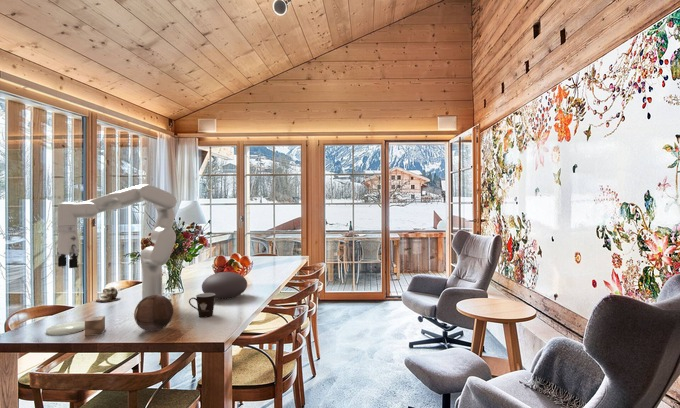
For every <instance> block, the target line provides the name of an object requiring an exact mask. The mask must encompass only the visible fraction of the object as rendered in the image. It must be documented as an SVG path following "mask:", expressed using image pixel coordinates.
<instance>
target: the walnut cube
mask: <svg viewBox="0 0 680 408" xmlns="http://www.w3.org/2000/svg"><path fill="white" fill-rule="evenodd" d="M84 322H85V330H84V336H85V335H87V336H93V335H92V334H97V335H102V334H103V333H104V332H105V330H106V316H105V315H101V316H99V315H98V316H89V317H87V319H85V320H84ZM103 331H104V332H103ZM102 332H103V333H102Z"/></svg>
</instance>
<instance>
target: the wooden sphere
mask: <svg viewBox="0 0 680 408" xmlns="http://www.w3.org/2000/svg"><path fill="white" fill-rule="evenodd" d="M168 298H169V297H166V296H165V295H163V294H162V295H150V296H147V297H145V298H144V299H142V298H141V300H140V301H139V302H138V304H136V307H135V309H134V313H133V316H134V317H133V318H134V321H135V323H136V325H137V327H139V328H141V329H142V330H143V331H147V332H156V331H160V330H162V329H164V328H165V327H167V326H168V324H170V322H171V320H172V318H173V316H174V307H173V304H172V301H171V302H170V300H169V299H168Z"/></svg>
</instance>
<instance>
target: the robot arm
mask: <svg viewBox="0 0 680 408" xmlns="http://www.w3.org/2000/svg"><path fill="white" fill-rule="evenodd" d="M177 200H178V199H177V198H176V196H175V195H174V194H173V193H170V192H168V191H166V190H164V189H161V188H159V187H157V186H155V185H152V184H149V183H143V184H138V185H135V186H134V185H133V186H131V187H128V188H124V189H121V190H118V191H114V192H111V193H108V194H104V195H102V196H98V197H95V198H91V199H88V200H85V201H82V202H77V203H76V202H59V203H58V204H57V234H58V236H57V248H56V251H57V267H66V266H67V257H66V256H68V257H69V259H68V269H75V268H78V259H79V253H80V240H79V234H78V229H79V227H78V223H79V222H78V218H82V219H92V218H94V217H96V216H97V215H99V214H101V213H103V212H108V211H114V210H121V209H124V208H126V207H129V206H132V205H135V204H138V203H142V202H149V203H151V204H152V205H153V207H154V208H155V209H156V212H157V217H156V221H155V223H154V225H153V228H152V230H151V233H150V237H149V238H150V242H152V243H153V244H154V245H152V246H147V247H144V249H143V250H142V252H141V254H140V263H141V269H142V270H141V271H142V272H141V273H142V276H141V277H142V278H141V279H142V280H141V282H142V285H141V286H142V288H141V289H142V292H141V293H142V294H141V296H142V298H141V300H142V299H144V298H145V297H147V296H150V295H162V296H163V268H162V267H163V265H165V264H167V263H168V262H169V259H170V257H171V255H172V252H173V248H174V247H175V244H176V240H177V234H176V231H175V230H174V229H173V226H174V225H173V224H174V222H175V217H176V216H175V211H174V208H175V207H176V206H177V203H178V201H177ZM167 298H168V299H169V300H170V302H171V303H172V297H167Z"/></svg>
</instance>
